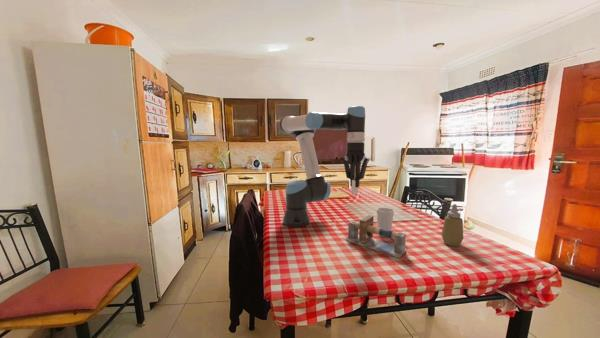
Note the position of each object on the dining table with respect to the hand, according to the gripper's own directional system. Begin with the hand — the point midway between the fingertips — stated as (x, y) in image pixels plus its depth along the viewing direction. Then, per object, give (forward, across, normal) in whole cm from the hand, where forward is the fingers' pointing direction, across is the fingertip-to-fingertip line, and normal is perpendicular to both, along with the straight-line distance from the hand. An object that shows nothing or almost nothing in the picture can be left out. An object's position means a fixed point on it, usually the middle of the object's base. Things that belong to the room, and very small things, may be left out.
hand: (354, 193), depth 103 cm
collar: (+20, +6, 0) cm, 21 cm away
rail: (+22, +10, 0) cm, 24 cm away
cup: (+22, +8, +16) cm, 28 cm away
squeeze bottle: (+22, +35, +24) cm, 48 cm away
